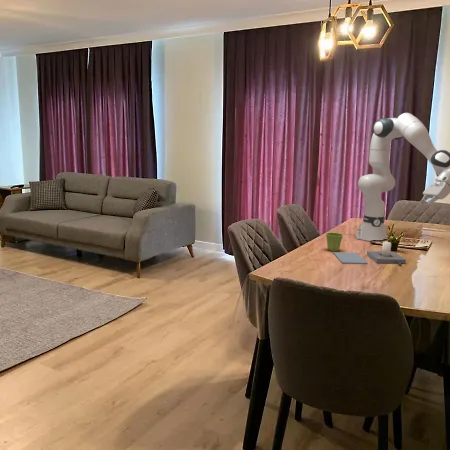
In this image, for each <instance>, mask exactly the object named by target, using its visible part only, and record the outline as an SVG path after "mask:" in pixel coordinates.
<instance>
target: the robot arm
mask: <svg viewBox="0 0 450 450" xmlns="http://www.w3.org/2000/svg"><path fill="white" fill-rule="evenodd" d="M372 127H373V128H372V131H373V133H372V135H371V140H370V145H369V152H368V153H369V155H368V165H370V166H371V168H372V171H373V173H369V174H365V175H362V176H360V178H359V179H358V181H357V186H358V189H359V190H360V192H361V193H362V195H363V198H364V215H363V216H362V217H363V219H362V223H360V225H359V226H357V228H356V231H358V232H355V234H354V235H355V238H356V240H363V241H368V242H372V241H371V240H383V239H386V237H387V225H386V224H385V220H386V219H385V218H386V217H385V208H386V203H385V201H384V200H382V198H381V193H386V192H390V191H391V190H394V188H395V187H396V179H395V177H394V176H393V175H392V172H391V168H390V149H391V142H392V140H396V141H397V140H400V139H402V138H404V139H406V141H408V143H410V144H411V145H412V146H413V147H415V148H416V149H417V150H418V151H419V152H420V153H422V155H423V156H424V157H425V158H426V159H427V161H429V163H430V164H431V166H432V167H433V169H434V172H435V175H436V178H435V179H434V180H435V182H432V183H431V184H430V185H428V186H427V188H425V190H424V191H423V192H422V195H423V197H422V199H420V201H419V203H421V204H422V205H425V203H427V205H429V206H432V205H433V204H434V203H435V202H437V201H438V200H444V199H445V198H447V197H448V196H450V151H447V150H445V149H440V150H437V149H436V147H435V146H434V143H433V141H432V139H431V135H430V133H429V131H428V129H427V128H426V126H425V125H424V123H423V122H422V121H421V120H420V119H419V118H418V117H416V116H414V114H412V113H410V112H404V113H401V114H400V115H398V117H390V118H389V117H387V118H386V117H382V118H378V119H377V120H376V121H375V122H374V124H373V126H372ZM427 200H428V201H427Z"/></svg>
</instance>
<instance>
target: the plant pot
mask: <svg viewBox="0 0 450 450" xmlns="http://www.w3.org/2000/svg"><path fill="white" fill-rule="evenodd" d="M325 236H326V244H327V245H326V246H327V251H329V252H337V251H340V249H341V248H340V247H341V242H342V239H343V237H344V234H343V233H339V232H334V231H333V232H326V233H325Z"/></svg>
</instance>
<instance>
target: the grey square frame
mask: <svg viewBox="0 0 450 450" xmlns="http://www.w3.org/2000/svg"><path fill="white" fill-rule="evenodd" d="M367 255H368V257H369V258H370V259H371V260H372V259H373V260H374V261H373V260H372V261H373V262H375V263H376V264H396V263H397V264H396V265H398V264H399V265H398V266H399V267H403V264H401V263H407V259H406V258H404V257H403V256H401V254H398V253H397V252H395V251H391V252H390V256H391V257H382V251H380V250H379V251H372V250H369V251H366V256H367Z"/></svg>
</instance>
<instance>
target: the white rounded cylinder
mask: <svg viewBox="0 0 450 450" xmlns="http://www.w3.org/2000/svg"><path fill="white" fill-rule="evenodd" d="M391 248H392V242H389V241H382V248H381V252H382V257H391V256H390V252H392V251H391V250H392V249H391Z"/></svg>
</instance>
